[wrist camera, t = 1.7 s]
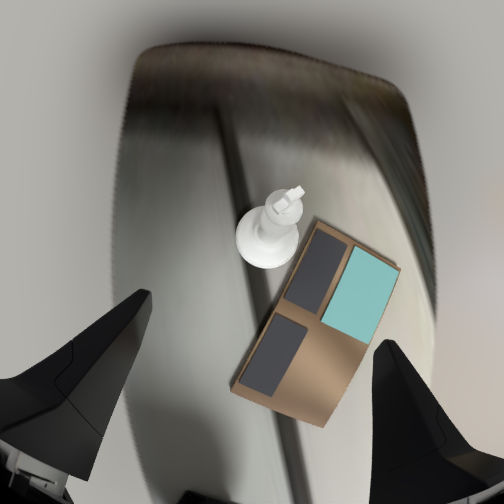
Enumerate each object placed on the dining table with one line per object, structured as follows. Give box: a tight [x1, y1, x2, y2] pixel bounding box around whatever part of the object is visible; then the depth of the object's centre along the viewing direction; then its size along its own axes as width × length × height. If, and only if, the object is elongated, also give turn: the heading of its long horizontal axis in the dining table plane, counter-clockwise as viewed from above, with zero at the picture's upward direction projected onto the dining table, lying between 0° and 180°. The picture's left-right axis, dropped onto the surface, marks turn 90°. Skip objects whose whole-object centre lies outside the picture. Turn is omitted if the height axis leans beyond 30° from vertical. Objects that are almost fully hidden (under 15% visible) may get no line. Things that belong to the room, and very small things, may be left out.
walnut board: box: [230, 221, 401, 428], centre depth 22 cm, size 15×8×1 cm, turn 153°
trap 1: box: [284, 229, 348, 315], centre depth 22 cm, size 6×3×1 cm, turn 153°
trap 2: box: [239, 314, 308, 397], centre depth 21 cm, size 6×3×1 cm, turn 153°
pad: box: [321, 246, 399, 344], centre depth 22 cm, size 7×5×1 cm
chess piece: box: [235, 186, 305, 269], centre depth 18 cm, size 5×5×10 cm
